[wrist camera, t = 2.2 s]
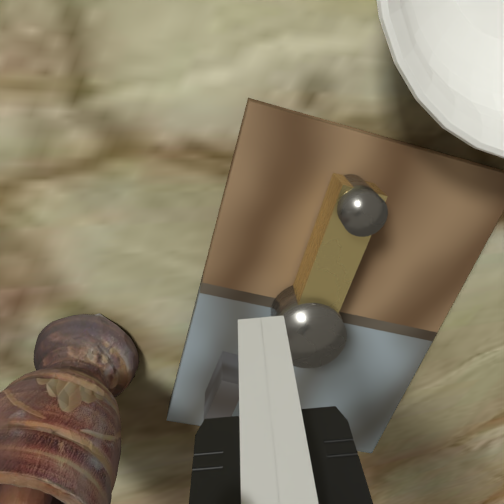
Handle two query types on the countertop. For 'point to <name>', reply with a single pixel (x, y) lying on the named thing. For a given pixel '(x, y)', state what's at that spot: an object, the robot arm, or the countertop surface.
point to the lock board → (365, 279)
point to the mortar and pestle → (66, 415)
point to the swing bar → (329, 269)
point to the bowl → (452, 63)
